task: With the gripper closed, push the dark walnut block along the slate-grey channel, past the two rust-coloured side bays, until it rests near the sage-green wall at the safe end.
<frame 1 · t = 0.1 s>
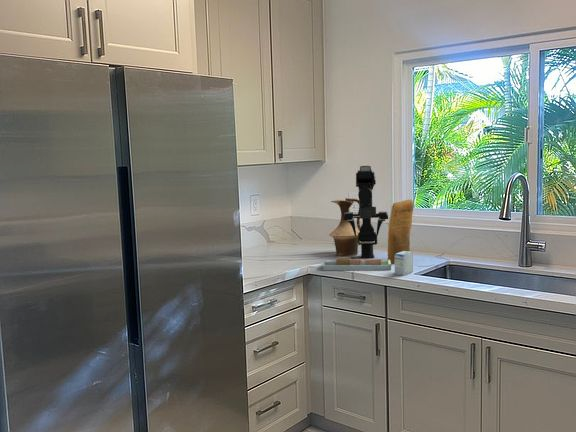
hand: (366, 235, 248), 15 cm above the table, tool pointing down, fingers open, 9 cm apart
pancake mix bag: (400, 261, 264), on the table
trap box: (356, 267, 254), on the table
medicine box: (403, 273, 239), on the table
block: (343, 268, 254), resting in trap box
pitcher: (347, 254, 287), on the table
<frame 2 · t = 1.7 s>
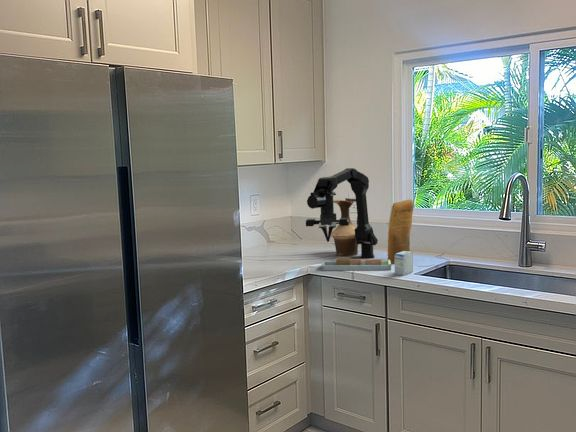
hand: (328, 241, 254), 12 cm above the table, tool pointing down, fingers closed
nothing on the table moved.
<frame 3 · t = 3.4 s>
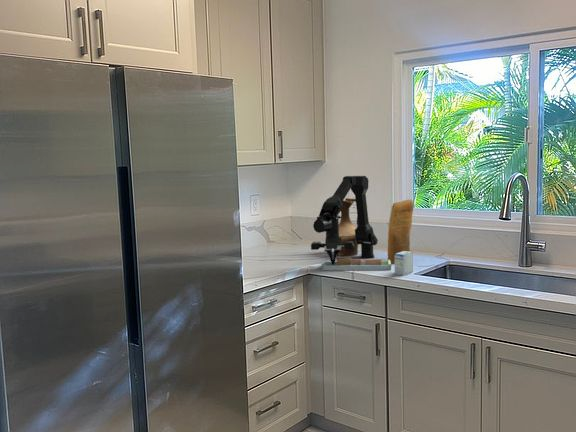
hand: (333, 264, 255), 1 cm above the table, tool pointing down, fingers closed
block: (344, 268, 254), resting in trap box, touching gripper
everything else where it was.
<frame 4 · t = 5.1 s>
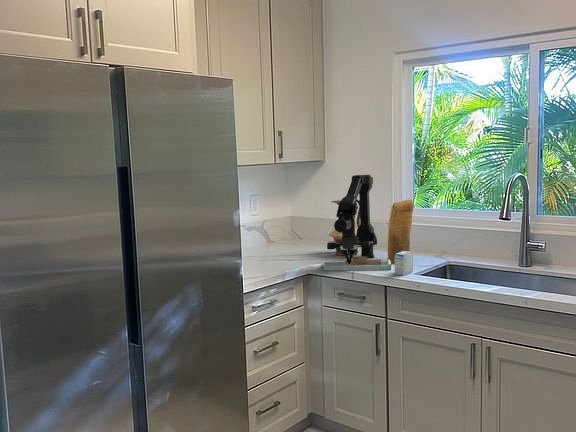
hand: (349, 264, 254), 2 cm above the table, tool pointing down, fingers closed
block: (360, 267, 253), resting in trap box, touching gripper
everything else where it was.
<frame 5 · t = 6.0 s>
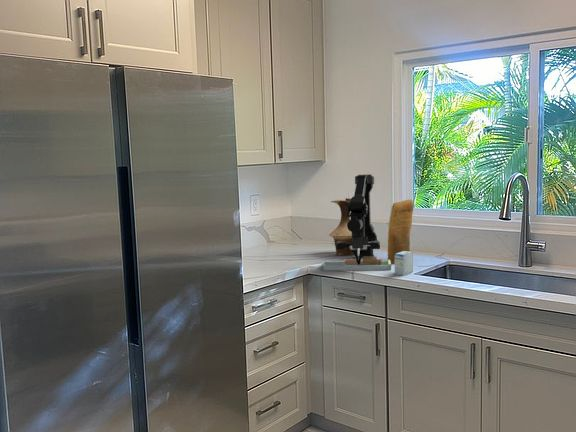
hand: (358, 264, 253), 2 cm above the table, tool pointing down, fingers closed
block: (369, 267, 253), resting in trap box, touching gripper
everything else where it was.
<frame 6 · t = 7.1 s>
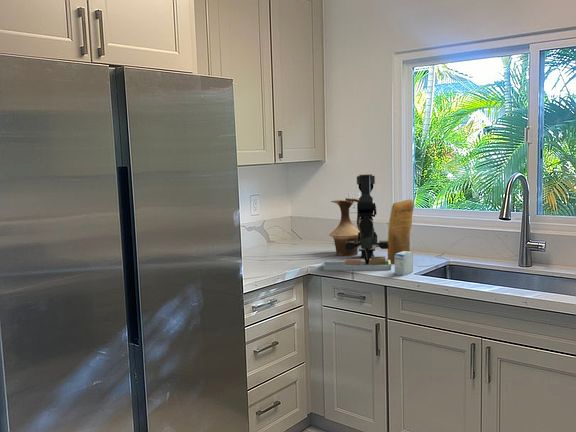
hand: (367, 264, 253), 2 cm above the table, tool pointing down, fingers closed
block: (378, 267, 252), resting in trap box, touching gripper
everything else where it was.
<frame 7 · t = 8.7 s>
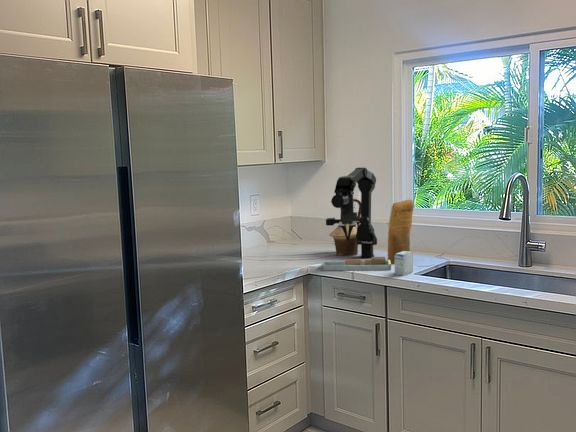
hand: (347, 240, 256), 12 cm above the table, tool pointing down, fingers closed
block: (378, 268, 252), resting in trap box
everything else where it was.
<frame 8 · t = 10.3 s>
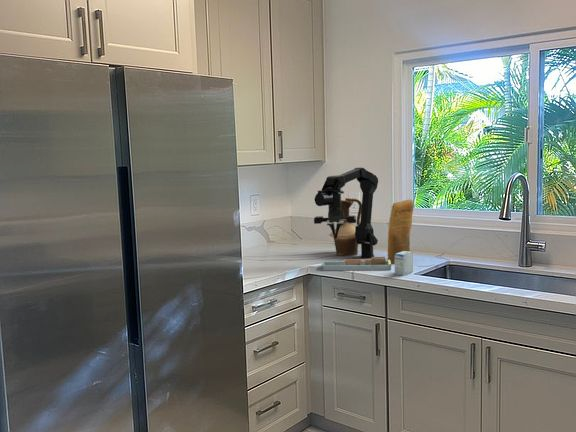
hand: (335, 238, 261), 12 cm above the table, tool pointing down, fingers closed
nothing on the table moved.
at the end: block inside the target area (0.5 cm from its centre), resting in trap box; block tilted 0° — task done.
